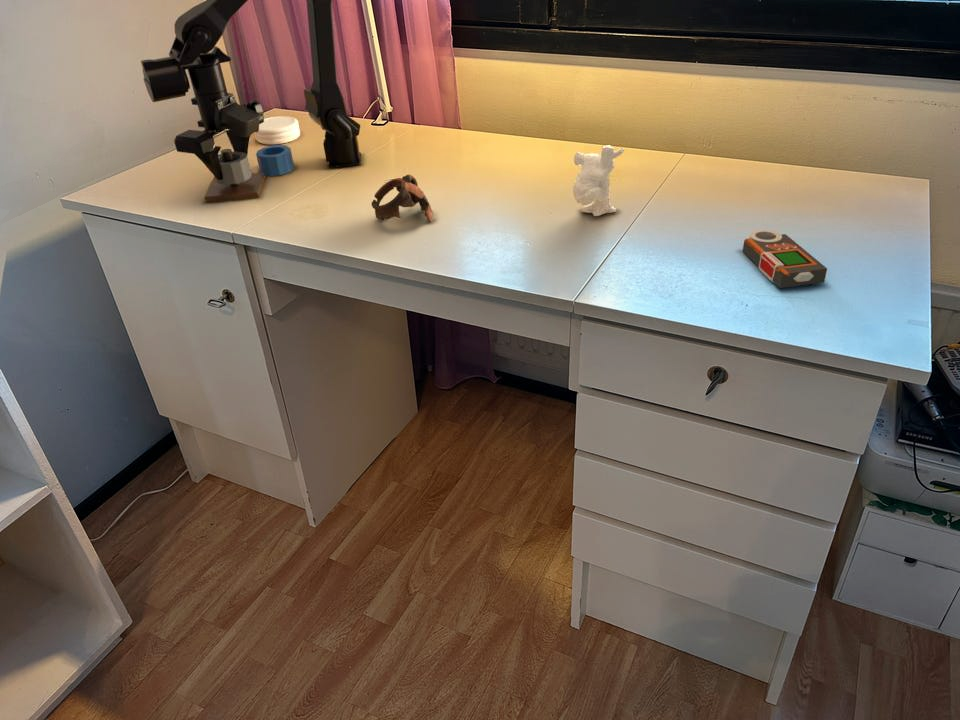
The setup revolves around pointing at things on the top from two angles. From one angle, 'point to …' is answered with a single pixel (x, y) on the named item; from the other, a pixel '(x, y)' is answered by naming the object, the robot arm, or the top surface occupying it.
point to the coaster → (278, 130)
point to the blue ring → (275, 160)
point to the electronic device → (783, 259)
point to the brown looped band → (401, 198)
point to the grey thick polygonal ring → (234, 169)
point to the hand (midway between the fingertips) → (232, 172)
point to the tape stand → (235, 185)
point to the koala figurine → (595, 180)
